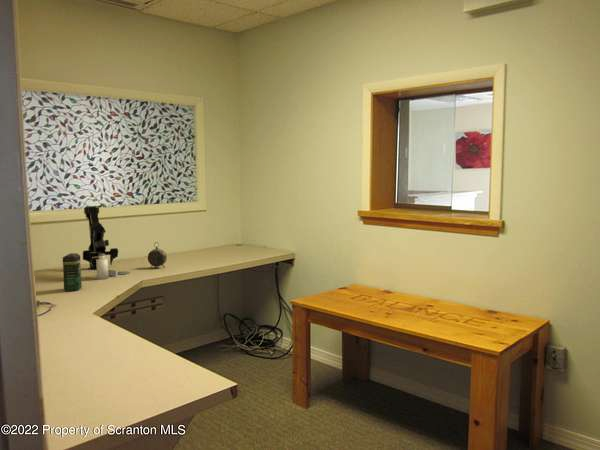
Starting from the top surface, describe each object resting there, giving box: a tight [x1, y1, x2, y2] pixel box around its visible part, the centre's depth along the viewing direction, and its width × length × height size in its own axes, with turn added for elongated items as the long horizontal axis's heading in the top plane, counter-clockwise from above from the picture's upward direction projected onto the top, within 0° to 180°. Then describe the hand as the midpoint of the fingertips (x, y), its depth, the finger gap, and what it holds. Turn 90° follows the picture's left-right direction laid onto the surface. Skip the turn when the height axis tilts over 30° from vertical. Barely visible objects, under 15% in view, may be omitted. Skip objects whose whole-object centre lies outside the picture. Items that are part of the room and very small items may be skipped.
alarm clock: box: [147, 242, 168, 269], centre depth 320 cm, size 11×5×16 cm, turn 84°
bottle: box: [96, 254, 109, 280], centre depth 290 cm, size 6×6×14 cm
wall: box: [108, 268, 119, 278], centre depth 298 cm, size 11×1×4 cm, turn 62°
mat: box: [118, 270, 131, 276], centre depth 304 cm, size 9×9×1 cm
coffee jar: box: [62, 252, 83, 292], centre depth 263 cm, size 10×8×19 cm
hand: (102, 265), depth 289 cm, fingers open, 9 cm apart
